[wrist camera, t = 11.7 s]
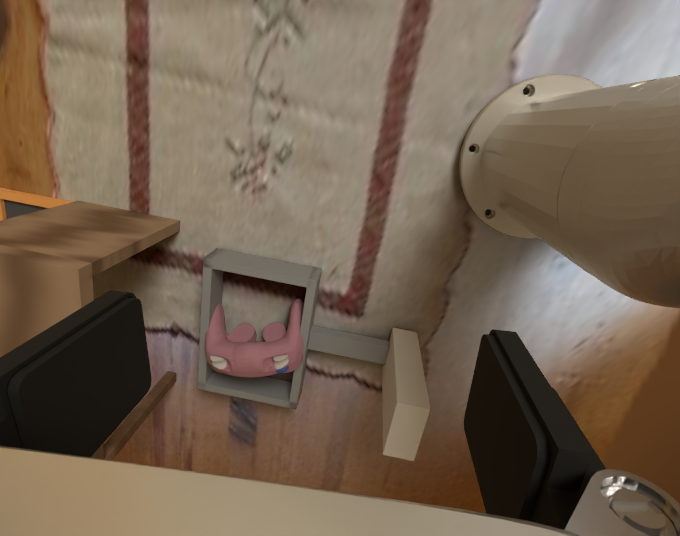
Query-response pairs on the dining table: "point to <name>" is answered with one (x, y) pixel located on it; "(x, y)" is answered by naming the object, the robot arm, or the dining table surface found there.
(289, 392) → the grey drawer with handle
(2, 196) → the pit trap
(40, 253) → the brown wooden stand
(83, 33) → the dining table surface
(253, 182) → the dining table surface
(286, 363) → the video game controller
